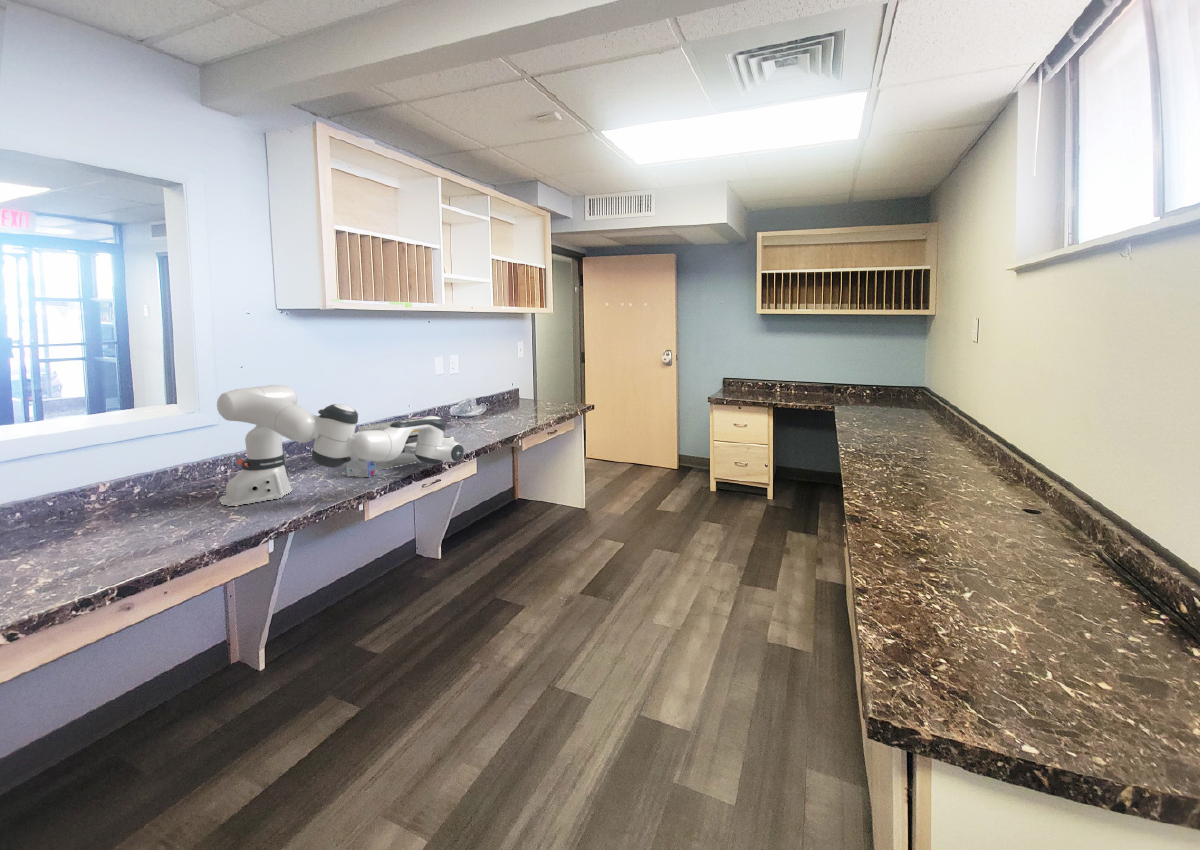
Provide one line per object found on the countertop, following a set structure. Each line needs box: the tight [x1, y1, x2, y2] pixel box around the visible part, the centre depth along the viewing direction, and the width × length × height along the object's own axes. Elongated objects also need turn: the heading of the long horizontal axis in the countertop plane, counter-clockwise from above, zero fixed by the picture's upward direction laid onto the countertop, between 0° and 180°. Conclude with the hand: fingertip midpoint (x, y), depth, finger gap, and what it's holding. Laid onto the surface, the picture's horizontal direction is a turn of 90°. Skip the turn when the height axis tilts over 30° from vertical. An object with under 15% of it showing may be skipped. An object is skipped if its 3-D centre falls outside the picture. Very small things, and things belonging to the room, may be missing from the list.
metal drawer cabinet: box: [357, 416, 423, 472], centre depth 245 cm, size 30×9×18 cm, turn 137°
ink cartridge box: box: [345, 456, 377, 478], centre depth 227 cm, size 10×6×14 cm, turn 79°
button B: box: [405, 435, 418, 444], centre depth 247 cm, size 10×5×5 cm, turn 137°
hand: (419, 442), depth 246 cm, fingers closed
